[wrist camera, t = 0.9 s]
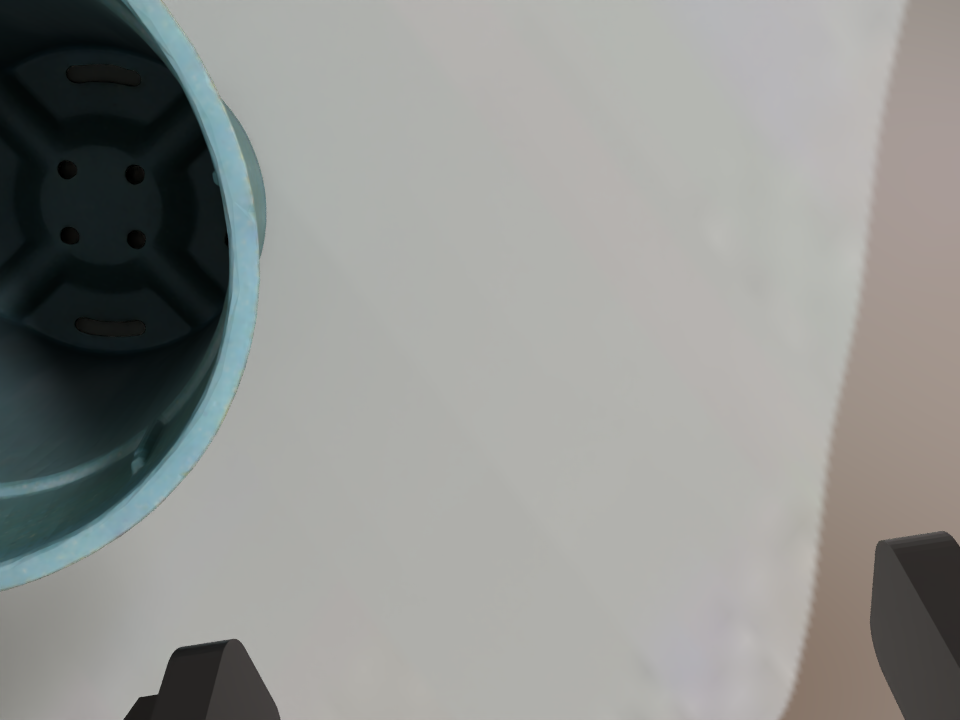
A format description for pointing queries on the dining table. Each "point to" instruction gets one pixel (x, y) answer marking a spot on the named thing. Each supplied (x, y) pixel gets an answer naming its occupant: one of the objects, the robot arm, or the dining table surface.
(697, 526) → the dining table surface
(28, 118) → the flower pot
